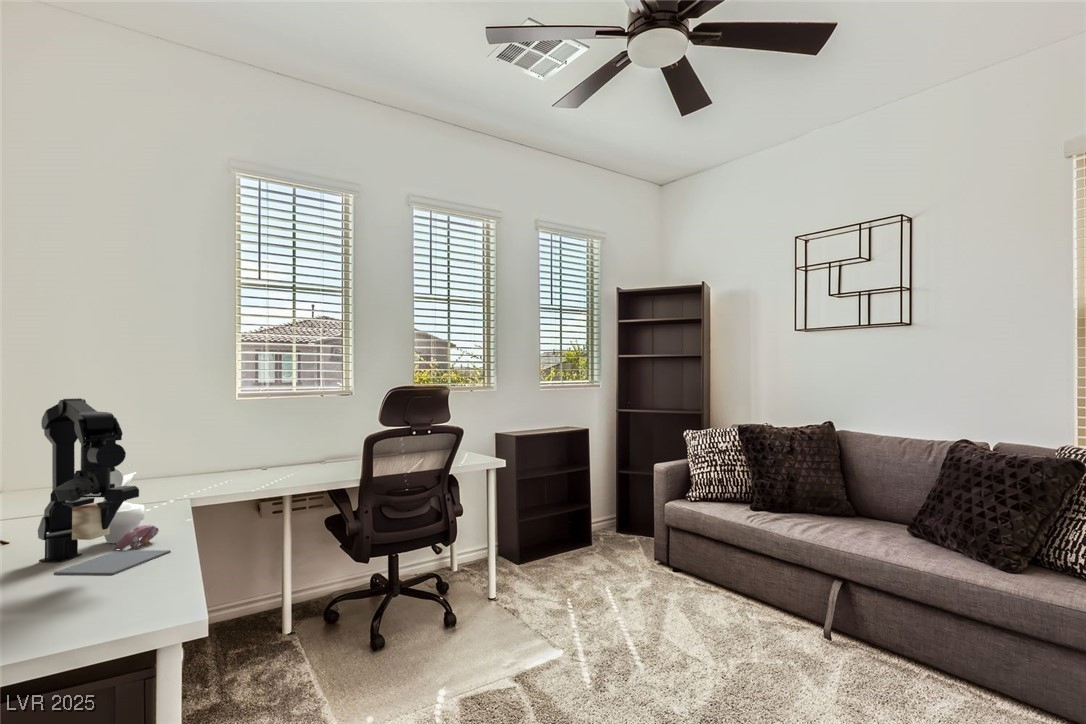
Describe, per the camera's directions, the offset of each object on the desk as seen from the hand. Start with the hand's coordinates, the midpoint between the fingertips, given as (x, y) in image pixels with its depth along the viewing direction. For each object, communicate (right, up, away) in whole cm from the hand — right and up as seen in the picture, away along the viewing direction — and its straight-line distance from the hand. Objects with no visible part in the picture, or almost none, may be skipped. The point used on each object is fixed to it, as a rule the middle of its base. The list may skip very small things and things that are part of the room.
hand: (95, 529), depth 133 cm
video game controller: (-8, -13, +25) cm, 29 cm away
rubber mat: (-2, -12, +9) cm, 15 cm away
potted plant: (-17, -13, +31) cm, 38 cm away
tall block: (0, -2, -1) cm, 2 cm away
